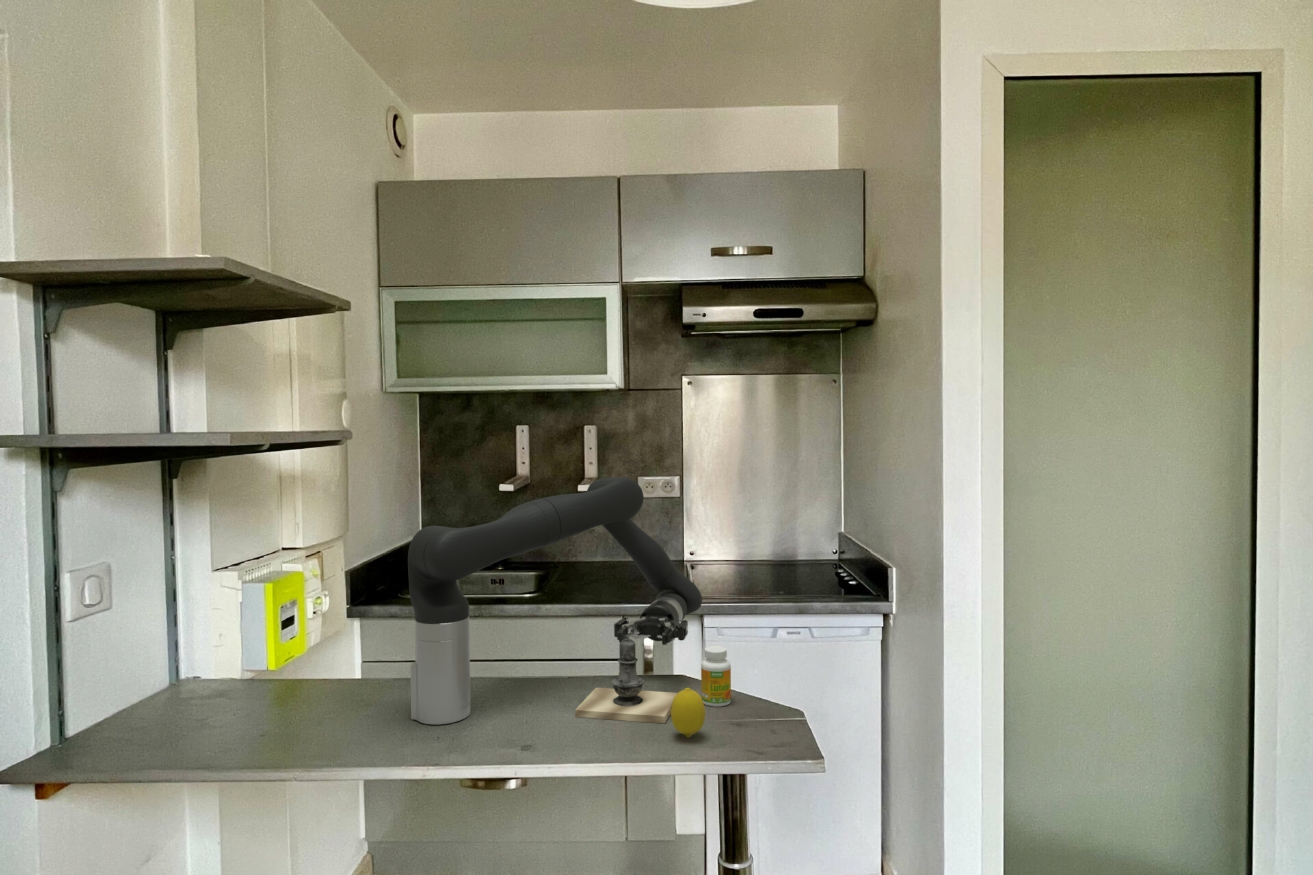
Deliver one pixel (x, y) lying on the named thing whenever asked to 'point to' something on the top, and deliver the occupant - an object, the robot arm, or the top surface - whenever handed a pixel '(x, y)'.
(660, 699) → the birch board
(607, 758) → the top surface
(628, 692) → the salt shaker
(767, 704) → the top surface
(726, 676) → the supplement bottle
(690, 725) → the lemon
